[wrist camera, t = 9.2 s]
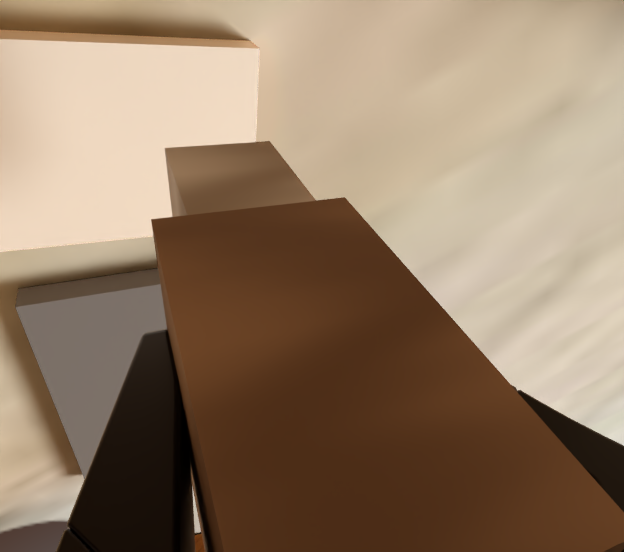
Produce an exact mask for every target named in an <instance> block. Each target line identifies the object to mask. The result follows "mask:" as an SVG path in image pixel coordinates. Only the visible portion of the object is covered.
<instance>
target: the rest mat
mask: <svg viewBox="0 0 624 552" xmlns="http://www.w3.org/2000/svg"><path fill="white" fill-rule="evenodd" d="M15 308H16V310H17V313H18V315H19V318H20V320H21V323H22V325H23V328H24V330H25V333H26V335H27V338H28V340H29V343H30V345H31V348H32V350H33V353H34V355H35V357H36V360H37V362H38V365H39V367H40V370H41V372H42V375H43V377H44V380H45V382H46V385H47V387H48V390H49V392H50V395H51V397H52V400H53V402H54V405H55V407H56V410H57V412H58V415H59V417H60V419H61V422H62V424H63V427H64V429H65V432H66V434H67V437H68V439H69V442H70V444H71V447H72V449H73V452H74V454H75V457H76V459H77V462H78V464H79V467H80V469H81V472H82V474H83V477H84V479H85V477H86V475H87V472H88V470H89V467H90V465H91V462H92V460H93V457H94V455H95V452H96V450H97V447H98V445H99V442H100V440H101V437H102V435H103V432H104V430H105V427H106V425H107V422H108V420H109V417H110V415H111V412H112V410H113V407H114V405H115V402H116V400H117V397H118V395H119V392H120V390H121V387H122V385H123V382H124V380H125V377H126V375H127V372H128V369H129V367H130V364H131V362H132V359H133V357H134V354H135V352H136V349H137V347H138V344H139V342H140V339H141V337H142V335H143V334H144V333H146V332H151V331H156V330H161V329H167V325H166V318H165V311H164V305H163V298H162V291H161V284H160V277H159V270H158V268H157V269H150V270H143V271H136V272H129V273H123V274H116V275H109V276H102V277H96V278H89V279H82V280H75V281H68V282H62V283H55V284H48V285H41V286H34V287H28V288H21V289H18V293H17V299H16V305H15Z"/></svg>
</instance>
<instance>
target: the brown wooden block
mask: <svg viewBox="0 0 624 552" xmlns="http://www.w3.org/2000/svg"><path fill="white" fill-rule="evenodd" d="M165 156H166V165H167V173H168V182H169V191H170V200H171V208H172V217H167V218H158V219H151V223H152V229H153V236H154V243H155V250H156V257H157V264H158V270H159V277H160V284H161V291H162V298H163V305H164V311H165V318H166V325H167V330H168V334H169V338H170V343H171V347H172V352H173V357H174V361H175V366H176V370H177V375H178V380H179V385H180V390H181V397H182V404H183V411H184V419H185V426H186V433H187V440H188V448H189V455H190V462H191V477H192V486H193V491H194V496H195V502H196V507H197V512H198V517H199V522H200V528H201V533H202V538H203V543H204V549H205V552H621V551H622V550H623V549H624V512H623V511H622V510H621V509H620V508H619V506H618V505H617V504H616V503H615V502H614V501H613V500H612V499H611V497H610V496H609V495H608V494H607V493H606V492H605V491H604V490H603V488H602V487H601V486H600V485H599V484H598V483H597V482H596V480H595V479H594V478H593V477H592V476H591V475H590V474H589V473H588V471H587V470H586V469H585V468H584V467H583V466H582V465H581V464H580V462H579V461H578V460H577V459H576V458H575V457H574V456H573V455H572V453H571V452H570V451H569V450H568V449H567V448H566V447H565V446H564V444H563V443H562V442H561V441H560V440H559V439H558V438H557V436H556V435H555V434H554V433H553V432H552V431H551V430H550V429H549V427H548V426H547V425H546V424H545V423H544V422H543V421H542V420H541V418H540V417H539V416H538V415H537V414H536V413H535V412H534V411H533V409H532V408H531V407H530V406H529V405H528V404H527V403H526V401H525V400H524V399H523V398H522V397H521V396H520V395H519V394H518V392H517V391H516V390H515V389H514V388H513V387H512V386H511V385H510V383H509V382H508V381H507V380H506V379H505V378H504V377H503V376H502V374H501V373H500V372H499V371H498V370H497V369H496V368H495V367H494V365H493V364H492V363H491V362H490V361H489V360H488V359H487V357H486V356H485V355H484V354H483V353H482V352H481V351H480V350H479V348H478V347H477V346H476V345H475V344H474V343H473V342H472V341H471V339H470V338H469V337H468V336H467V335H466V334H465V333H464V332H463V330H462V329H461V328H460V327H459V326H458V325H457V324H456V322H455V321H454V320H453V319H452V318H451V317H450V316H449V315H448V313H447V312H446V311H445V310H444V309H443V308H442V307H441V306H440V304H439V303H438V302H437V301H436V300H435V299H434V298H433V297H432V295H431V294H430V293H429V292H428V291H427V290H426V289H425V288H424V286H423V285H422V284H421V283H420V282H419V281H418V280H417V278H416V277H415V276H414V275H413V274H412V273H411V272H410V271H409V269H408V268H407V267H406V266H405V265H404V264H403V263H402V262H401V260H400V259H399V258H398V257H397V256H396V255H395V254H394V253H393V251H392V250H391V249H390V248H389V247H388V246H387V245H386V244H385V242H384V241H383V240H382V239H381V238H380V237H379V236H378V234H377V233H376V232H375V231H374V230H373V229H372V228H371V227H370V225H369V224H368V223H367V222H366V221H365V220H364V219H363V218H362V216H361V215H360V214H359V213H358V212H357V211H356V210H355V209H354V207H353V206H352V205H351V204H350V203H349V202H348V201H347V199H346V198H345V197H344V198H336V199H327V200H318V201H316V200H315V199H314V197H313V196H312V195H311V194H310V192H309V191H308V190H307V188H306V187H305V186H304V185H303V183H302V182H301V181H300V179H299V178H298V177H297V176H296V174H295V173H294V172H293V171H292V169H291V168H290V167H289V165H288V164H287V163H286V162H285V160H284V159H283V158H282V156H281V155H280V154H279V153H278V151H277V150H276V149H275V148H274V146H273V145H272V144H271V142H270V141H265V142H250V143H234V144H219V145H203V146H187V147H172V148H165Z"/></svg>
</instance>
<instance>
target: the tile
mask: <svg viewBox="0 0 624 552" xmlns="http://www.w3.org/2000/svg"><path fill="white" fill-rule="evenodd" d="M259 54H260V48H258V47H257V46H256V45H255V44H254V43H253V42H251V41H247V40H224V39H201V38H178V37H155V36H133V35H110V34H87V33H64V32H41V31H18V30H0V252H5V251H15V250H24V249H34V248H44V247H54V246H63V245H73V244H83V243H93V242H102V241H112V240H122V239H132V238H141V237H151V236H153V229H152V223H151V219H158V218H167V217H172V208H171V200H170V191H169V182H168V173H167V165H166V156H165V148H172V147H187V146H203V145H219V144H234V143H250V142H256V127H257V103H258V78H259Z"/></svg>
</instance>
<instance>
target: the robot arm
mask: <svg viewBox="0 0 624 552" xmlns="http://www.w3.org/2000/svg"><path fill="white" fill-rule="evenodd" d="M511 386H512V385H511ZM512 387H513V388H514V389H515V390H516V391H517V389H516V388H515V387H514V386H512ZM517 392H518V394H519V395H520V396H521V397H522V398H523V399H524V400H525V401H526V403H527V404H528V405H529V406H530V407H531V408H532V409H533V411H534V412H535V413H536V414H537V415H538V416H539V417H540V418H541V420H542V421H543V422H544V423H545V424H546V425H547V426H548V427H549V429H550V430H551V431H552V432H553V433H554V434H555V435H556V436H557V438H558V439H559V440H560V441H561V442H562V443H563V444H564V446H565V447H566V448H567V449H568V450H569V451H570V452H571V453H572V455H573V456H574V457H575V458H576V459H577V460H578V461H579V462H580V464H581V465H582V466H583V467H584V468H585V469H586V470H587V471H588V473H589V474H590V475H591V476H592V477H593V478H594V479H595V480H596V482H597V483H598V484H599V485H600V486H601V487H602V488H603V490H604V491H605V492H606V493H607V494H608V495H609V496H610V497H611V499H612V500H613V501H614V502H615V503H616V504H617V505H618V506H619V508H620V509H621V510H622V511H623V512H624V446H623V445H621V444H619V443H617V442H615V441H613V440H611V439H609V438H607V437H605V436H603V435H601V434H599V433H597V432H595V431H593V430H591V429H590V428H588V427H586V426H584V425H582V424H580V423H578V422H576V421H574V420H572V419H570V418H568V417H567V416H565V415H563V414H561V413H559V412H558V411H556V410H554V409H552V408H551V407H549V406H547V405H545V404H543V403H542V402H540V401H538V400H536V399H535V398H533V397H531V396H530V395H528V394H526V393H524V392H523V391H521V390H518V391H517ZM67 527H68V529H66V530H65V531H64V532H63V534H62V537H61V539H60V542H59V545H58V547H57V549H56V552H196V551H195V532H194V514H193V495H192V477H191V462H190V455H189V448H188V440H187V433H186V426H185V419H184V411H183V404H182V397H181V390H180V385H179V380H178V375H177V370H176V366H175V361H174V357H173V352H172V347H171V343H170V338H169V334H168V330H167V329H161V330H156V331H151V332H146V333H144V334H143V335H142V337H141V339H140V342H139V344H138V347H137V349H136V352H135V354H134V357H133V359H132V362H131V364H130V367H129V369H128V372H127V375H126V377H125V380H124V382H123V385H122V387H121V390H120V392H119V395H118V397H117V400H116V402H115V405H114V407H113V410H112V412H111V415H110V417H109V420H108V422H107V425H106V427H105V430H104V432H103V435H102V437H101V440H100V442H99V445H98V447H97V450H96V452H95V455H94V457H93V460H92V462H91V465H90V467H89V470H88V472H87V475H86V477H85V480H84V482H83V485H82V487H81V490H80V492H79V495H78V497H77V500H76V503H75V505H74V508H73V510H72V513H71V515H70V518H69V520H68V523H67ZM621 552H624V549H623V550H622V551H621Z"/></svg>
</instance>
